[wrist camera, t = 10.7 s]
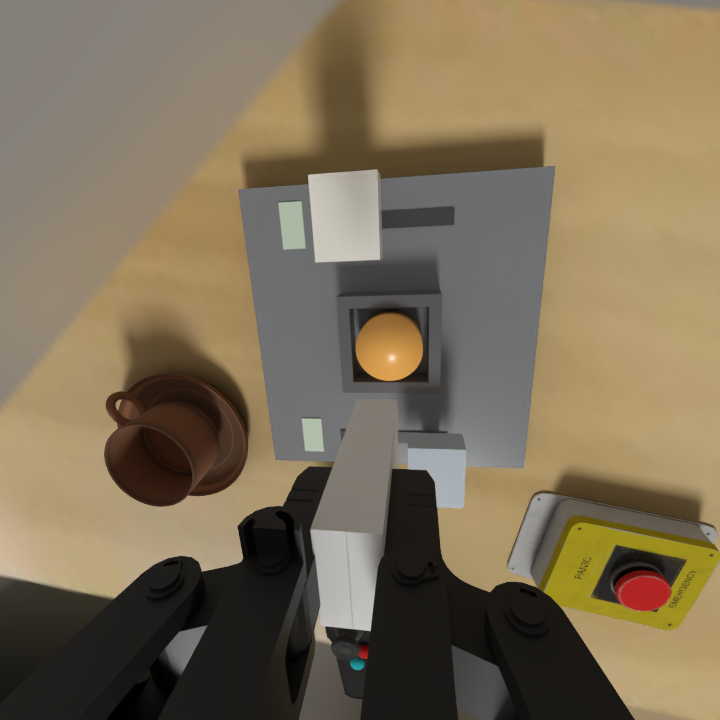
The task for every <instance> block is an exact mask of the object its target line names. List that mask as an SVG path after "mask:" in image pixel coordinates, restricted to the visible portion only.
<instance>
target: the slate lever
mask: <svg viewBox="0 0 720 720" xmlns="http://www.w3.org/2000/svg"><path fill="white" fill-rule="evenodd" d="M408 469H411V470H427V471H428V473H429V474H430V476H431V477H432V478H433V480H434V481H435V490H436V502H437V507H445V508H464V491H465V470H466V446H465V443H464V439H463V435H462V434H453V433H408Z"/></svg>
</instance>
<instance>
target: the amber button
mask: <svg viewBox="0 0 720 720" xmlns="http://www.w3.org/2000/svg"><path fill="white" fill-rule="evenodd" d="M422 355H423V342H422V334H421V330H420V328H419V326H418V324H417V322H416V321H415V320H414V319H413V318H412V317H411V316H410V315H408V314H407V313H405V312H403V311H400V310H395V309H387V310H382V311H379V312H377V313H375V314H373V315H372V316H371V317H370V318H369V319H368V320H367V321H366V322H365V324H364V325H363V327H362V329H361V331H360V333H359V335H358V337H357V341H356V356H357V359H358V361H359V363H360V365H361V366H362V368H363V369H364V370H365V371H366V372H367V373H368V374H370V375H371V376H373V377H375V378H377V379H380V380H385V381H395V380H399V379H402V378H405V377H407V376H408V375H410V374H411V373H412V372H413V371H414V370H415V369H416V368H417V367H418V365H419V363H420V361H421V359H422Z"/></svg>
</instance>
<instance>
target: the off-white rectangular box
mask: <svg viewBox="0 0 720 720" xmlns="http://www.w3.org/2000/svg"><path fill="white" fill-rule="evenodd" d="M308 181H309V193H310V205H311V217H312V229H313V241H314V253H315V263H317V262H340V261H363V260H380V259H382V258H383V250H382V214H381V178H380V174H379V172H378V170H377V169H376V170H363V171H350V172H337V173H324V174H311V175H308Z"/></svg>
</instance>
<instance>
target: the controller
mask: <svg viewBox="0 0 720 720" xmlns="http://www.w3.org/2000/svg"><path fill="white" fill-rule="evenodd" d="M325 628H326V633H327V637H328V638H329V639H330V640H331V641H332V645H331V649H332V652H333V654H334V655H335V656H336V658H337V662H338V666H339V670H340V674H341V678H342V683H343V687H344V691H345V694H346V695H348V696H350V697H351V698H355V699H363V692H364V684H365V675H366V666H367V657H368V649H369V640H370V631H365V630H356V629H347V628H337V627H328V626H325Z"/></svg>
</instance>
